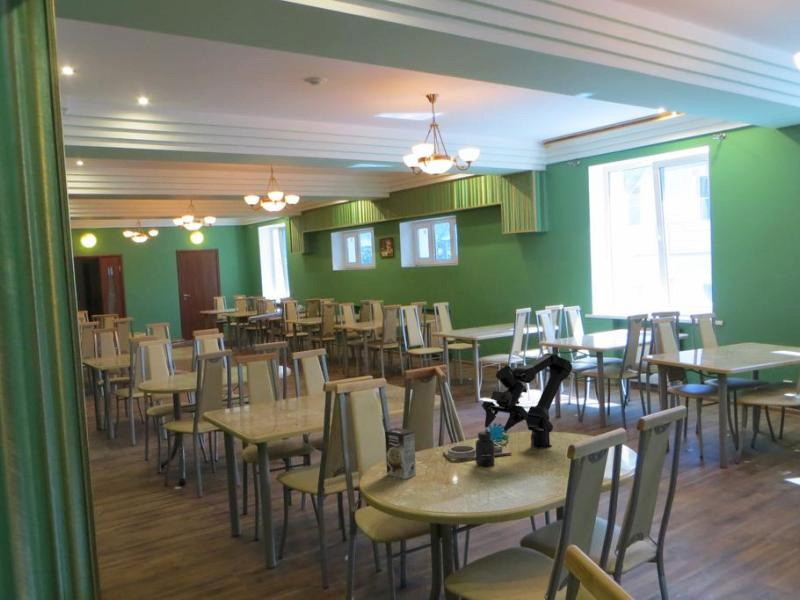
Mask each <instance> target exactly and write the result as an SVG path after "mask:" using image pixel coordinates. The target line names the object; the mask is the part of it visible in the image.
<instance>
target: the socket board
mask: <svg viewBox="0 0 800 600" xmlns="http://www.w3.org/2000/svg"><path fill="white" fill-rule="evenodd" d="M443 454H444V455H445V456H444V455H443ZM511 454H512V451H510V450H508V449H507V448H506V447H504V446H502V445H500V444H498V442H497V443H496V442H495V443H494V457H495V456H499V457H504V456H503V455H507V456H512V455H511ZM442 455H443V456H444V457H445V458H447V459H448V458H449V459H450V461H451V462H452V463H457V462H456V461H460V462H464V461H463V460H468V461H471V460H470V459H476V446H473V445H466V444H465V445H464V444H463V445H453V446H450V447H448V449H447V451H442ZM495 458H496V457H495ZM449 459H448V460H449Z"/></svg>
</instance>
